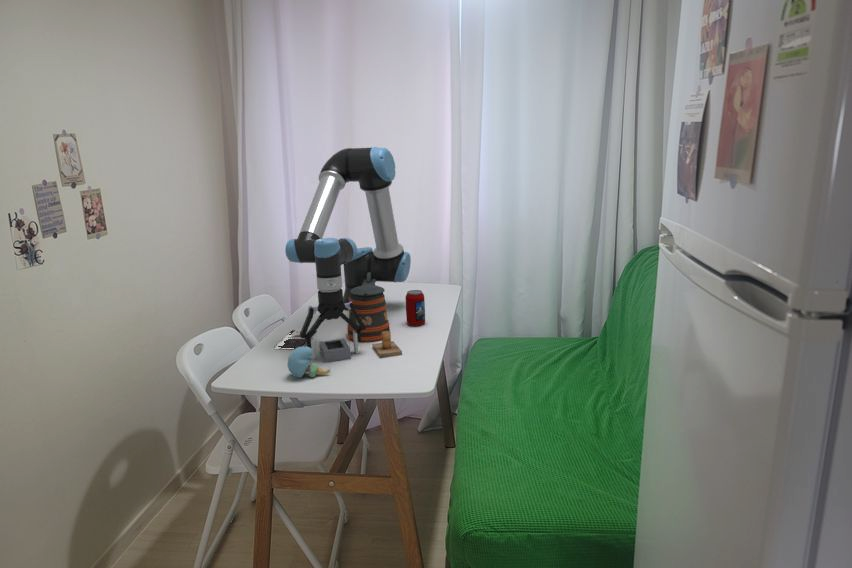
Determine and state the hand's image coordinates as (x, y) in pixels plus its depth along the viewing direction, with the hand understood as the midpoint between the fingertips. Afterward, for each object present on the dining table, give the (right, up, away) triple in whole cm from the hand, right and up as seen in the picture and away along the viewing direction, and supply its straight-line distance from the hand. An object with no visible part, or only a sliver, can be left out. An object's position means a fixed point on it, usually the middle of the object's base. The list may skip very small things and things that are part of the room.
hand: (334, 355), depth 191 cm
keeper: (+16, +1, +2) cm, 16 cm away
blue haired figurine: (-5, -4, -15) cm, 16 cm away
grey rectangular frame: (0, 0, 0) cm, 0 cm away
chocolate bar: (-16, +3, +16) cm, 23 cm away
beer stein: (+9, +5, +20) cm, 23 cm away
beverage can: (+25, +8, +29) cm, 39 cm away
